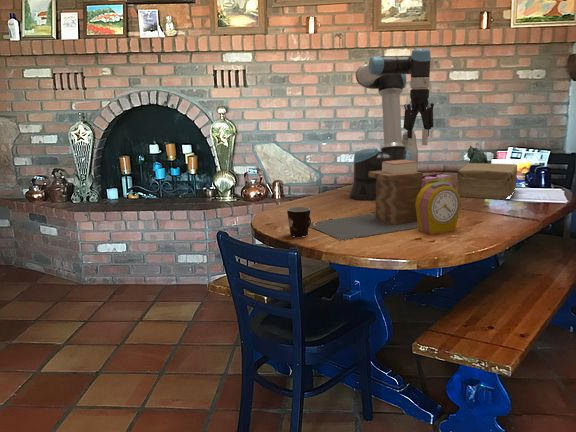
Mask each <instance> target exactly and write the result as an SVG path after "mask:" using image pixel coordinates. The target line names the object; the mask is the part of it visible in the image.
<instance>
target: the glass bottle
mask: <svg viewBox="0 0 576 432" xmlns="http://www.w3.org/2000/svg"><path fill="white" fill-rule="evenodd" d="M402 144H403V145H404V146H405V149H406V150H407V151H409V153H410V161H416V162H417V168H418V162H419V149H418V144H417V135H416V133H415V132H414V146H413V147H412V146H408V138H407V130H406V131H404V133H403V134H402Z"/></svg>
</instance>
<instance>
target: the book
mask: <svg viewBox="0 0 576 432" xmlns="http://www.w3.org/2000/svg"><path fill="white" fill-rule="evenodd" d="M382 172H386V173H391V174H401V173H410V172H418V167H417V162H416V161H410V160H394V161H384V162H382Z"/></svg>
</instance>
